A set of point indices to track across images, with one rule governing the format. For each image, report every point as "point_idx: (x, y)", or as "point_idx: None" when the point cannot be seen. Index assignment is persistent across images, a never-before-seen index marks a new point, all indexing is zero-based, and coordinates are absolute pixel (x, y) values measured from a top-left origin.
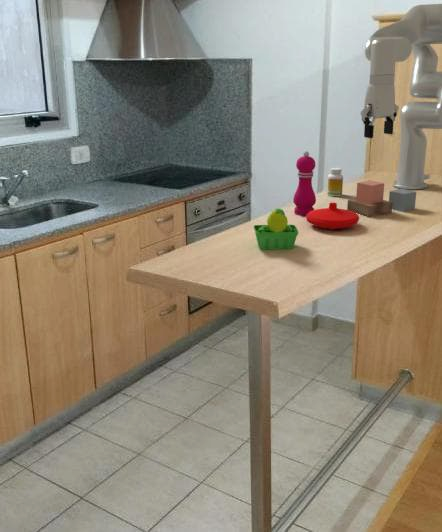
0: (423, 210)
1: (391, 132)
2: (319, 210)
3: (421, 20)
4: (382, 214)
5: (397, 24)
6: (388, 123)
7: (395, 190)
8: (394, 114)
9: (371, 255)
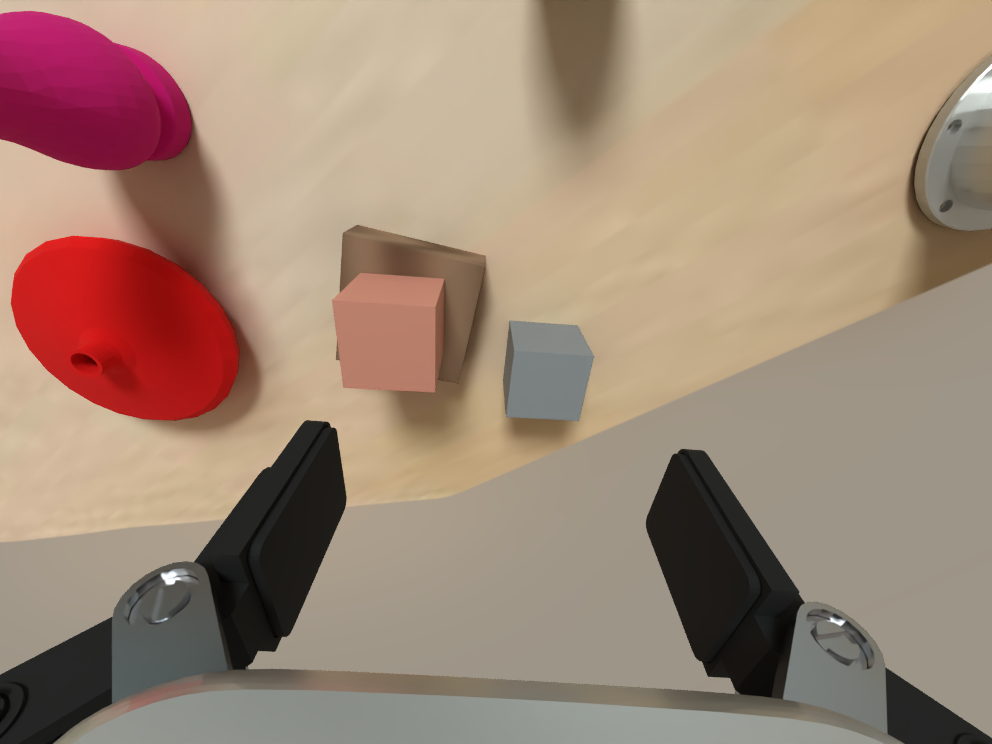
0: None
1: (656, 538)
2: (60, 307)
3: None
4: None
5: None
6: (708, 612)
7: (542, 359)
8: None
9: (114, 523)
